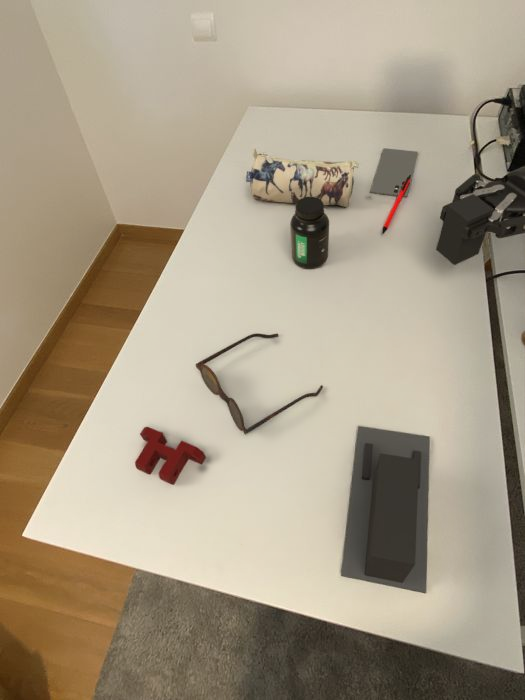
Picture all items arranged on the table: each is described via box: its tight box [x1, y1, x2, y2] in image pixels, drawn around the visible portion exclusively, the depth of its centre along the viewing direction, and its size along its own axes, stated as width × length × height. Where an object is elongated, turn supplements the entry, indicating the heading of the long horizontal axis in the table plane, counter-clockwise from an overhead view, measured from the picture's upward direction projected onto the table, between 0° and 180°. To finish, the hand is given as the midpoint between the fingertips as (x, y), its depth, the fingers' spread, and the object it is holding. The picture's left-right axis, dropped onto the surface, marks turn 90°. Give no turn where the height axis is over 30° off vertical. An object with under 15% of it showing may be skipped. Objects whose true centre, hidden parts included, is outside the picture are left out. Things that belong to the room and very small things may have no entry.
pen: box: [381, 175, 412, 235], centre depth 100 cm, size 1×19×1 cm, turn 155°
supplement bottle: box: [289, 196, 330, 270], centre depth 89 cm, size 7×7×12 cm
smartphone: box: [369, 147, 419, 198], centre depth 107 cm, size 8×1×16 cm
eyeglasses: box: [195, 333, 324, 436], centre depth 76 cm, size 15×15×5 cm
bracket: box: [134, 426, 207, 486], centre depth 71 cm, size 3×6×10 cm
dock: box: [340, 425, 431, 594], centre depth 62 cm, size 10×20×10 cm, turn 168°
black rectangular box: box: [435, 194, 494, 266], centre depth 79 cm, size 4×5×9 cm
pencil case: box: [245, 148, 359, 208], centre depth 101 cm, size 22×8×10 cm, turn 77°
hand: (453, 223), depth 77 cm, fingers closed on black rectangular box, 4 cm apart
